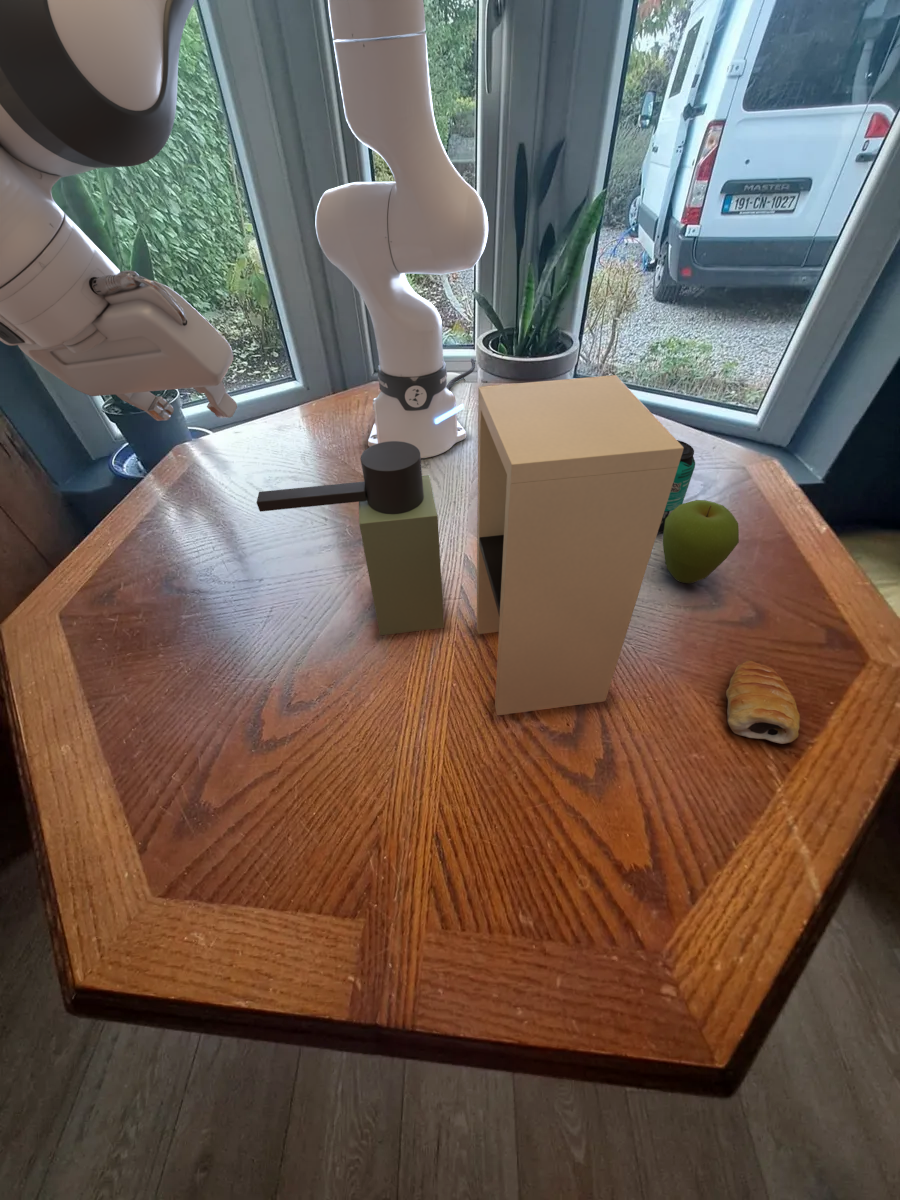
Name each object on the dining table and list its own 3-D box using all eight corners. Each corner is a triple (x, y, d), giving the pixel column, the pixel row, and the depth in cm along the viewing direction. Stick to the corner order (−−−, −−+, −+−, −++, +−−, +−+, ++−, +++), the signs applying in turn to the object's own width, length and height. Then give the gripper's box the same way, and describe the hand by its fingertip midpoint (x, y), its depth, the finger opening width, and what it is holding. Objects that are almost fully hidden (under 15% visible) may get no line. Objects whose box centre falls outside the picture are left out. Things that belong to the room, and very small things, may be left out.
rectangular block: (377, 591, 70) (358, 481, 58) (436, 585, 71) (429, 474, 59) (380, 635, 64) (359, 523, 52) (444, 628, 65) (437, 515, 53)
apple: (637, 566, 72) (658, 495, 64) (687, 551, 74) (713, 480, 66) (678, 607, 66) (706, 534, 58) (731, 589, 68) (766, 517, 60)
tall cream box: (476, 627, 65) (478, 386, 44) (570, 616, 66) (616, 374, 45) (496, 715, 56) (511, 464, 35) (605, 701, 56) (684, 447, 35)
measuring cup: (265, 495, 57) (252, 453, 53) (421, 480, 58) (417, 438, 54) (258, 528, 52) (243, 485, 49) (426, 511, 54) (423, 467, 50)
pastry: (718, 665, 59) (730, 643, 57) (783, 678, 58) (798, 656, 55) (724, 735, 53) (738, 715, 50) (797, 752, 52) (816, 731, 49)
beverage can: (630, 504, 83) (648, 433, 74) (676, 512, 81) (700, 440, 72) (624, 529, 78) (642, 456, 70) (673, 538, 76) (698, 465, 68)
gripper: (162, 235, 37) (286, 383, 48) (16, 279, 46) (149, 394, 58) (118, 300, 35) (258, 438, 46) (-25, 332, 44) (121, 440, 56)
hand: (197, 414), depth 52 cm, fingers open, 8 cm apart
